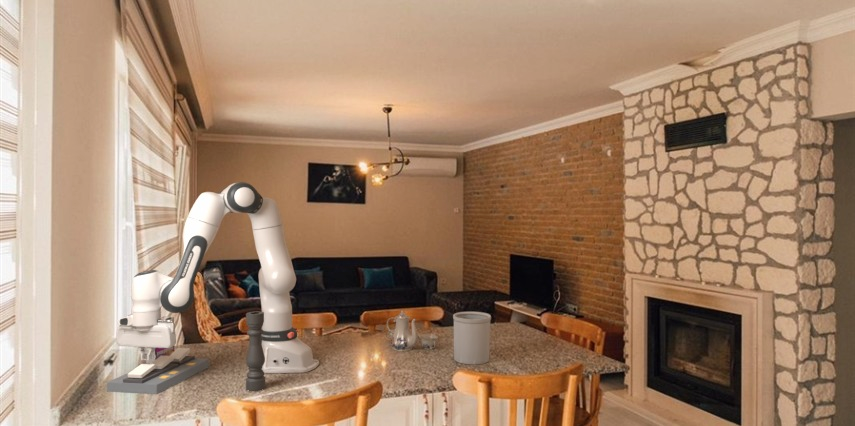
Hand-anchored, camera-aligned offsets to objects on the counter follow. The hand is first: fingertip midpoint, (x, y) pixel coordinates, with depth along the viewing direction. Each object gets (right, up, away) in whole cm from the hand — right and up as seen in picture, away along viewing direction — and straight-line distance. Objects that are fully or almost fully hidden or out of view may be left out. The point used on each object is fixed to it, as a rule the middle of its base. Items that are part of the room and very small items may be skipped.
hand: (146, 359), depth 183 cm
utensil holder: (+112, -8, +29) cm, 116 cm away
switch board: (+1, -9, +7) cm, 11 cm away
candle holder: (+38, -9, -4) cm, 39 cm away
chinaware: (+86, -8, +48) cm, 99 cm away
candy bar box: (-10, -9, +30) cm, 33 cm away
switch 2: (+1, -3, +7) cm, 8 cm away
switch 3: (+3, -3, +17) cm, 18 cm away
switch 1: (0, -3, -2) cm, 4 cm away
